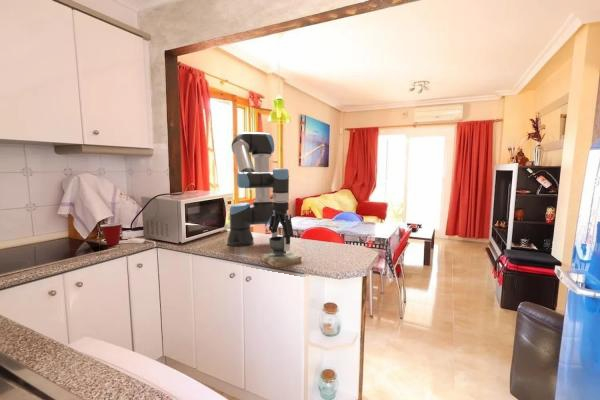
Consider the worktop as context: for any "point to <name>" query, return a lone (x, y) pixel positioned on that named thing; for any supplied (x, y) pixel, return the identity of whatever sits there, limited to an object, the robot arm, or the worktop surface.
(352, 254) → the worktop surface
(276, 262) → the beige flat pad
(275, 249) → the mortar and pestle
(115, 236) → the plastic cup
